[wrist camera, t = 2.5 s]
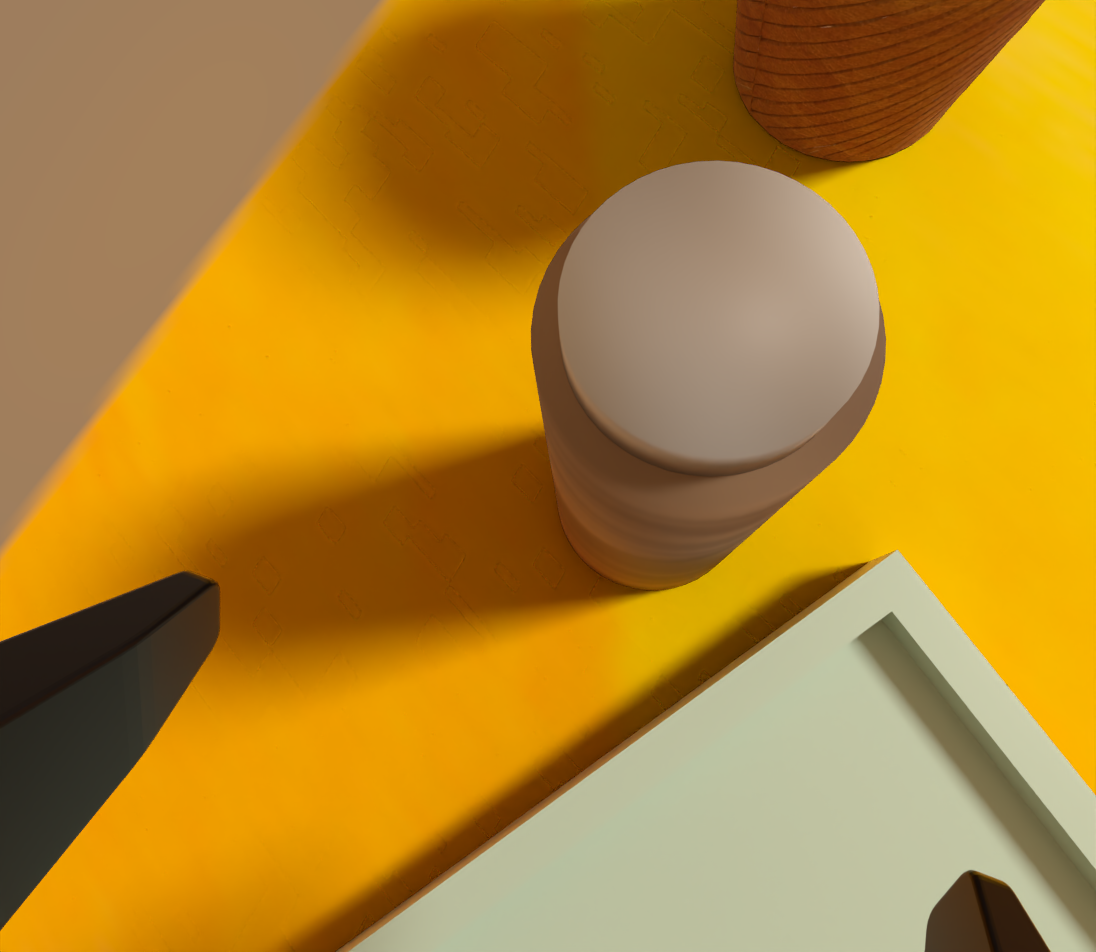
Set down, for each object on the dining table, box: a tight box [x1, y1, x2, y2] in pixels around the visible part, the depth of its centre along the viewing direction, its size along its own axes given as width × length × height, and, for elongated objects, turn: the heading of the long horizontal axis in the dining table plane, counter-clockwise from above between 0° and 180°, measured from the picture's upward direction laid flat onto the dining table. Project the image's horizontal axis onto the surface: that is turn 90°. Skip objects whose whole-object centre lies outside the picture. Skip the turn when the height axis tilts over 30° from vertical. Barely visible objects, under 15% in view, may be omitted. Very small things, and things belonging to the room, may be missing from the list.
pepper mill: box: [531, 161, 886, 590], centre depth 17 cm, size 5×5×12 cm
